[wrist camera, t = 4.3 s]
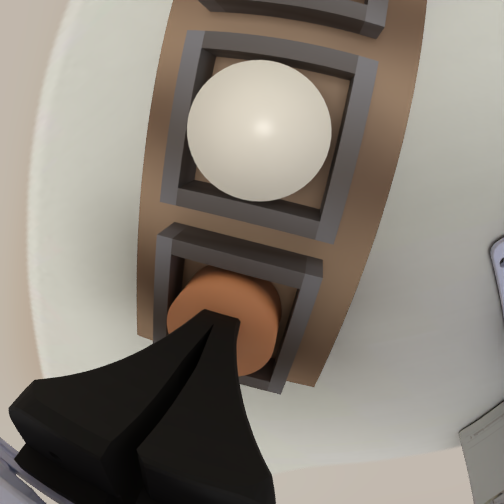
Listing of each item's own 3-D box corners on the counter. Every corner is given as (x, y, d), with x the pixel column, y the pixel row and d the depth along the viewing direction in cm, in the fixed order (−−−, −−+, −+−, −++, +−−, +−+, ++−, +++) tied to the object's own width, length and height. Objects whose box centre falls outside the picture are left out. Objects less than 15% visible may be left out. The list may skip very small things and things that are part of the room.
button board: (221, -81, 8) (196, -118, 5) (418, -50, 7) (439, -86, 4) (154, 314, 17) (123, 352, 14) (315, 360, 16) (312, 410, 13)
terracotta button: (190, 250, 12) (169, 273, 10) (292, 277, 12) (287, 305, 10) (183, 330, 14) (165, 357, 12) (269, 355, 14) (261, 387, 12)
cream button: (220, 64, 9) (200, 52, 8) (339, 85, 9) (345, 76, 7) (201, 174, 11) (178, 185, 9) (313, 200, 11) (312, 216, 9)
